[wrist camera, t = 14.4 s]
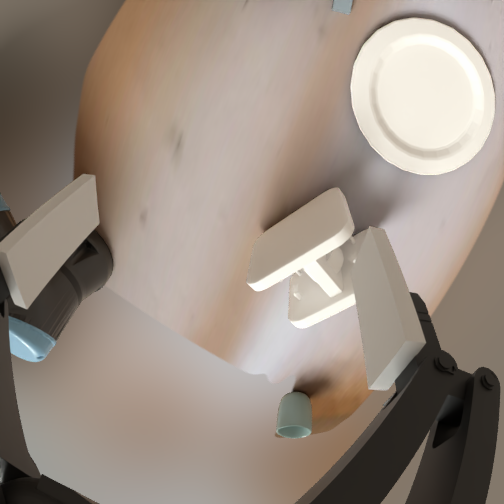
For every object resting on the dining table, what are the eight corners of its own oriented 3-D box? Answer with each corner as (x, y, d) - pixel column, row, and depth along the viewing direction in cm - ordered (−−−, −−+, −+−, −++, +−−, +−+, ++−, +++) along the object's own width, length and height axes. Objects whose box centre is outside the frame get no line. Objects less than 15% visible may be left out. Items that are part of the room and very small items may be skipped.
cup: (297, 384, 67) (295, 422, 59) (318, 396, 69) (318, 432, 61) (272, 394, 71) (269, 431, 63) (294, 406, 73) (292, 440, 65)
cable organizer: (341, 176, 39) (356, 219, 30) (380, 233, 43) (400, 285, 34) (254, 235, 46) (242, 288, 37) (297, 281, 50) (296, 337, 41)
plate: (411, 199, 40) (415, 205, 39) (312, 82, 33) (313, 83, 32) (510, 118, 30) (517, 121, 28) (428, -9, 23) (433, -11, 22)
